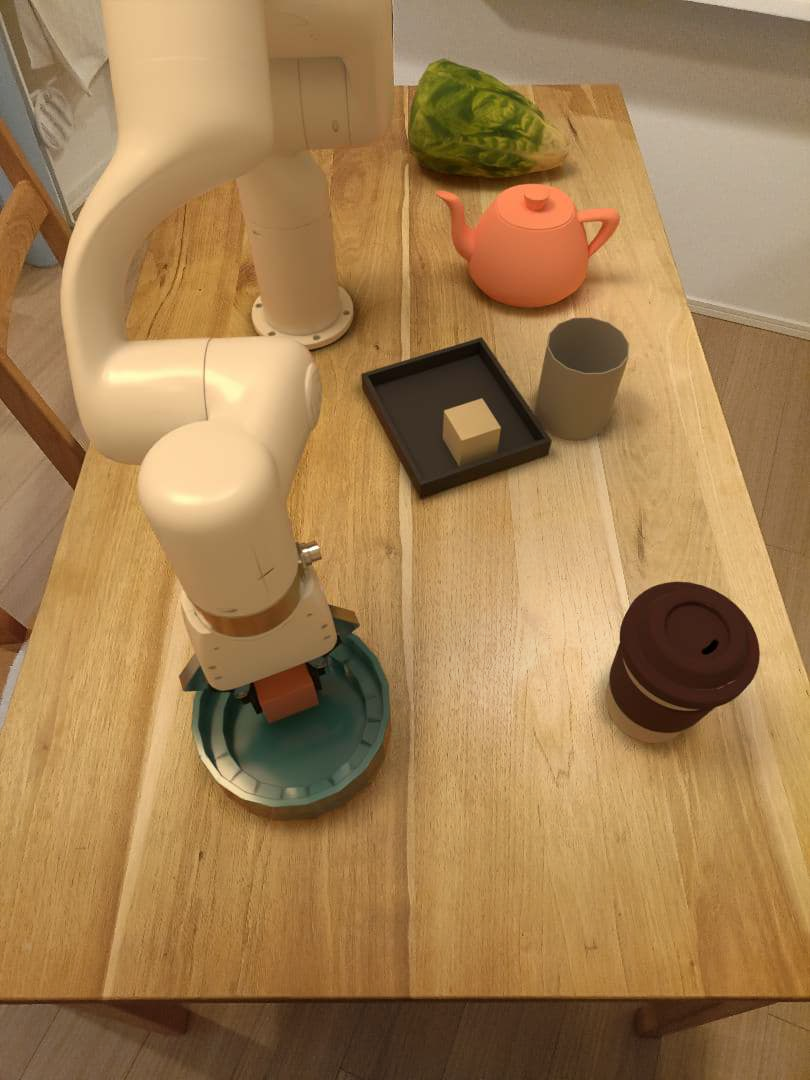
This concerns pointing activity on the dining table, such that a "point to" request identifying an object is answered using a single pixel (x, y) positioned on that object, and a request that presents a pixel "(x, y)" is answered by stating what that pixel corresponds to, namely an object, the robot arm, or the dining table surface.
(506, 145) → the lettuce
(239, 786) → the bowl
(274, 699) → the block
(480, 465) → the tray
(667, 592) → the coffee cup
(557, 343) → the cup
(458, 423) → the block
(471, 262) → the teapot
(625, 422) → the dining table surface
